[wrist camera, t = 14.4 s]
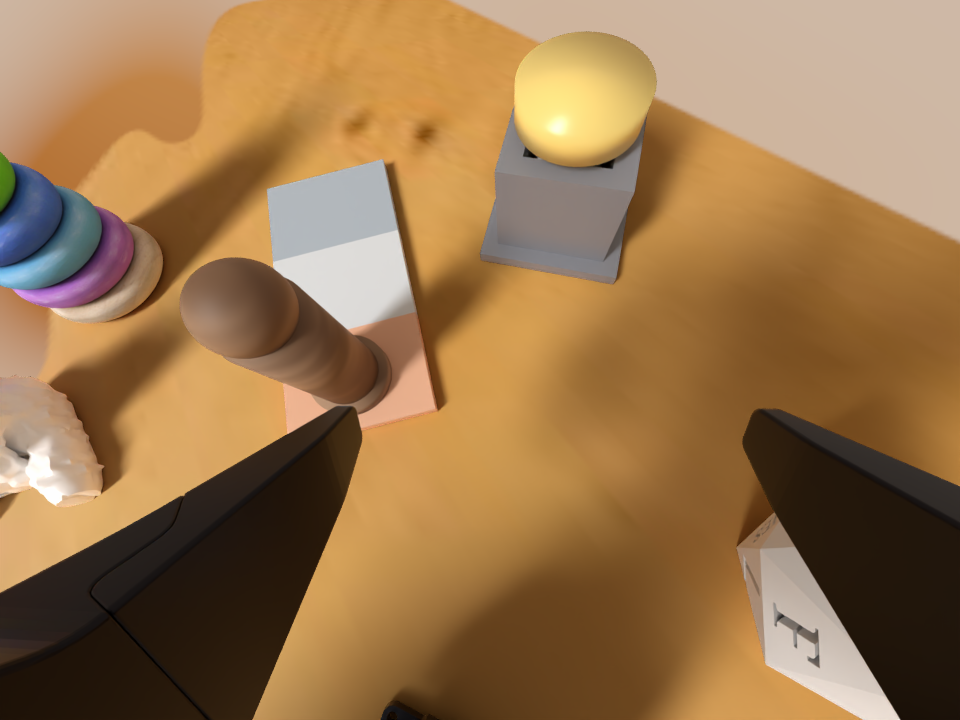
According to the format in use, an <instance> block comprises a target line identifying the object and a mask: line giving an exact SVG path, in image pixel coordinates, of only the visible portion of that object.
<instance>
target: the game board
mask: <svg viewBox="0 0 960 720" xmlns="http://www.w3.org/2000/svg"><path fill="white" fill-rule="evenodd" d="M267 194H268V206H269V218H270V230H271V242H272V254H273V266H274V269H275V270H276V271H277V272H279V273H280V274H281V275H282V276H283V277H284V278H287V279H289V280H291V281H293V282H294V283H295V284H297V285H298V286H299V287H300V288H301V289H302V290H303V291H305V292H306V293H307V294H308V295H309V296H310V297H311V298H312V299H314V300H315V301H316V302H317V303H318V304H319V305H320V306H321V307H323V308H324V309H325V310H326V311H327V312H328V313H329V314H330V315H332V316H333V317H334V318H335V319H336V320H337V321H338V322H339V323H341V324H342V325H343V326H344V327H345V328H346V329H347V330H348V331H350V332H351V333H352V334H353V335H358V336H363V337H366V338H368V339H370V340H372V341H373V342H374V343H376V344H377V345H378V346H379V347H380V348H381V349H382V350H383V351H384V352H385V353H386V355H387V357H388V358H389V361H390V364H391V368H392V380H391V384H390V387H389V390H388V392H387V394H386V395H385V397H384V398H383V399H382V401H381V402H380V403H379V404H378V405H377V406H375V407H374V408H373V409H371V410H369V411H367V412H365V413H362V414H359V415H358V418H359V422H360V426H361V431H362V430H366V429H370V428H374V427H378V426H382V425H386V424H389V423H393V422H397V421H401V420H405V419H409V418H413V417H417V416H420V415H424V414H428V413H432V412H436V411H438V409H437V404H436V399H435V395H434V390H433V385H432V381H431V376H430V371H429V366H428V362H427V357H426V352H425V348H424V343H423V338H422V333H421V329H420V324H419V319H418V315H417V310H416V305H415V300H414V296H413V291H412V286H411V282H410V277H409V272H408V267H407V263H406V258H405V253H404V249H403V244H402V239H401V235H400V230H399V225H398V220H397V216H396V211H395V206H394V202H393V197H392V192H391V187H390V183H389V178H388V173H387V169H386V166H385V163H384V161H383V159H382V160H378V161H374V162H371V163H367V164H363V165H359V166H355V167H351V168H347V169H343V170H339V171H335V172H332V173H328V174H324V175H320V176H316V177H312V178H308V179H304V180H300V181H296V182H293V183H289V184H285V185H281V186H277V187H273V188H269V189H267ZM283 386H284V398H285V410H286V422H287V434H289V433H290V432H292V431H294V430H296V429H297V428H299V427H301V426H302V425H304V424H306V423H308V422H309V421H311V420H313V419H315V418H316V417H318V416H320V415H321V414H323V413H325V412H327V411H328V410H326V409H324V408H323V407H321V406H320V405H319V404H318V403H317V402H316V401H315V400H314V398H313V397H312V395H311V394H310V393H307V392H305V391H302V390H300V389H297V388H294V387H292V386H289V385H287V384H284V383H283Z"/></svg>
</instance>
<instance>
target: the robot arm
mask: <svg viewBox="0 0 960 720" xmlns="http://www.w3.org/2000/svg"><path fill="white" fill-rule="evenodd" d="M361 443H362V431H361V426H360V422H359V418H358V414H357V411H356V409H355V407H353V406H335V407H334V408H332V409H330V410H328V411H327V412H325V413H323V414H321V415H320V416H318V417H316V418H315V419H313V420H311V421H309V422H308V423H306V424H304V425H302V426H301V427H299V428H297V429H296V430H294V431H292V432H290V433H289V434H287V435H285V436H283V437H282V438H280V439H278V440H277V441H275V442H273V443H271V444H270V445H268V446H266V447H264V448H263V449H261V450H259V451H258V452H256V453H254V454H252V455H251V456H249V457H247V458H245V459H244V460H242V461H240V462H239V463H237V464H235V465H233V466H232V467H230V468H228V469H226V470H225V471H223V472H221V473H220V474H218V475H216V476H214V477H213V478H211V479H209V480H207V481H206V482H204V483H202V484H201V485H199V486H197V487H195V488H194V489H192V490H190V491H188V492H187V493H185V495H184V496H180V497H178V498H176V499H174V500H173V501H171V502H169V503H168V504H166V505H164V506H162V507H161V508H159V509H157V510H155V511H154V512H152V513H150V514H148V515H147V516H145V517H143V518H141V519H139V520H138V521H136V522H134V523H132V524H131V525H129V526H127V527H125V528H123V529H121V530H120V531H118V532H116V533H114V534H112V535H110V536H108V537H106V538H104V539H103V540H101V541H99V542H97V543H95V544H93V545H91V546H89V547H87V548H86V549H84V550H82V551H80V552H78V553H76V554H74V555H72V556H70V557H68V558H66V559H64V560H63V561H61V562H59V563H57V564H55V565H53V566H51V567H49V568H47V569H45V570H43V571H41V572H39V573H38V574H36V575H34V576H32V577H30V578H28V579H26V580H24V581H22V582H20V583H18V584H16V585H14V586H12V587H11V588H9V589H7V590H5V591H3V592H1V593H0V720H252V719H253V717H254V714H255V712H256V710H257V707H258V705H259V703H260V700H261V698H262V695H263V693H264V691H265V688H266V686H267V684H268V681H269V679H270V676H271V674H272V672H273V669H274V667H275V665H276V662H277V660H278V657H279V655H280V653H281V650H282V648H283V646H284V643H285V641H286V638H287V636H288V634H289V631H290V629H291V627H292V624H293V622H294V619H295V617H296V615H297V612H298V610H299V608H300V605H301V603H302V600H303V598H304V596H305V593H306V591H307V589H308V586H309V584H310V581H311V579H312V577H313V574H314V572H315V570H316V567H317V565H318V562H319V560H320V558H321V555H322V553H323V551H324V548H325V546H326V543H327V541H328V539H329V536H330V534H331V532H332V529H333V527H334V525H335V522H336V520H337V517H338V515H339V513H340V510H341V508H342V505H343V503H344V500H345V497H346V494H347V491H348V487H349V484H350V481H351V477H352V474H353V471H354V467H355V464H356V460H357V457H358V454H359V450H360V447H361ZM743 448H744V451H745V453H746V455H747V457H748V459H749V461H750V463H751V465H752V467H753V469H754V472H755V474H756V476H757V478H758V480H759V482H760V484H761V486H762V488H763V490H764V492H765V495H766V497H767V499H768V501H769V503H770V505H771V507H772V509H773V511H774V513H775V514H776V516H777V518H778V520H779V521H780V523H781V525H782V526H783V528H784V530H785V531H786V533H787V535H788V536H789V538H790V539H791V541H792V543H793V544H794V546H795V548H796V549H797V551H798V553H799V554H800V556H801V558H802V559H803V561H804V563H805V564H806V566H807V567H808V569H809V571H810V572H811V574H812V576H813V577H814V579H815V581H816V582H817V584H818V586H819V587H820V589H821V590H822V592H823V594H824V595H825V597H826V599H827V600H828V602H829V604H830V605H831V607H832V609H833V610H834V612H835V614H836V615H837V617H838V618H839V620H840V622H841V623H842V625H843V627H844V628H845V630H846V632H847V633H848V635H849V637H850V638H851V640H852V641H853V643H854V645H855V646H856V648H857V650H858V651H859V653H860V655H861V656H862V658H863V660H864V661H865V663H866V665H867V666H868V668H869V669H870V671H871V673H872V674H873V676H874V678H875V679H876V681H877V683H878V684H879V686H880V688H881V689H882V691H883V692H884V694H885V696H886V697H887V699H888V701H889V702H890V704H891V706H892V707H893V709H894V711H895V712H896V714H897V716H898V717H899V719H900V720H960V486H958V485H955V484H953V483H951V482H948V481H946V480H944V479H941V478H939V477H937V476H934V475H932V474H930V473H927V472H925V471H923V470H920V469H918V468H916V467H913V466H911V465H909V464H906V463H904V462H901V461H899V460H897V459H894V458H892V457H890V456H887V455H885V454H883V453H880V452H878V451H876V450H873V449H871V448H869V447H866V446H864V445H862V444H859V443H857V442H855V441H852V440H850V439H848V438H845V437H843V436H841V435H838V434H836V433H834V432H831V431H829V430H827V429H824V428H822V427H820V426H817V425H815V424H813V423H810V422H808V421H806V420H803V419H801V418H798V417H796V416H794V415H791V414H789V413H787V412H784V411H782V410H779V409H757V410H755V411H754V412H753V413H752V415H751V418H750V420H749V423H748V426H747V428H746V431H745V433H744V436H743ZM390 712H395V713H396V715H397V719H392V718H391V717H390V714H389V713H390ZM380 720H439V719H437V718H436V717H434V716H432V715H430V714H428V715H423V714H421V713H419V712H417V711H415V710H414V709H412V708H410V707H408V706H406V705H404V704H402V703H401V702H399V701H391V702H390V703H388V704H387V706H386V708H385V710H384V712H383V714H382V717H381V719H380Z"/></svg>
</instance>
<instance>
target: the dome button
mask: <svg viewBox="0 0 960 720" xmlns="http://www.w3.org/2000/svg"><path fill="white" fill-rule="evenodd" d="M656 83H657V81H656V73H655V70H654V67H653V65H652V63H651V61H650V60H649V58H648V57H647V56H646V55H645V54H644V53H643V52H642V51H641V50H640V49H639V48H638V47H636V46H635V45H634V44H632V43H630V42H629V41H627V40H624V39H622V38H619V37H617V36H614V35H610V34H606V33H600V32H575V33H568V34H564V35H560V36H557V37H554V38H552V39H549V40H547V41H545V42H543V43H541V44H540V45H538V46H537V47H535V48H534V49H533V50H532V51H531V52H529V53H528V54H527V55H526V57H525V58H524V59H523V60H522V62H521V64H520V65H519V67H518V70H517V73H516V77H515V101H514V124H515V129H516V132H517V135H518V137H519V139H520V140H521V142H522V143H523V144H524V146H525V147H526V148H527V149H528V150H529V151H531V152H532V153H533V154H535V155H536V159H543V160H545V161H548V162H550V163H554V164H557V165H561V166H567V167H587V166H593V167H601V166H602V163H605V162H608V161H610V160H612V159H614V158H616V157H618V156H619V155H621V154H623V153H624V152H625V151H626V150H627V149H629V148H630V146H631V145H632V144H633V143H634V142H635V140H636V139H637V137H638V135H639V133H640V131H641V128H642V125H643V123H644V120H645V118H646V115H647V113H648V110H649V108H650V105H651V102H652V100H653V97H654V95H655V91H656Z"/></svg>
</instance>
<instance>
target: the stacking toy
mask: <svg viewBox="0 0 960 720" xmlns="http://www.w3.org/2000/svg"><path fill="white" fill-rule="evenodd" d="M162 268H163V256H162V252H161V249H160V247H159V245H158V243H157V242H156V240H155V239H154V238H153V237H152V236H151V235H150V234H149V233H148V232H146V231H145V230H143V229H142V228H140V227H138V226H135V225H133V224H129V223H125V222H123V221H122V220H121V219H120V218H119V217H118V216H116V215H115V214H113V213H111V212H110V211H108V210H106V209H103V208H100V207H97V206H93V204H92V203H91V202H90V201H88V200H87V199H86V198H85V197H84V196H82V195H81V194H79V193H77V192H75V191H73V190H71V189H68V188H65V187H61V186H55V185H53V184H52V183H51V182H50V181H49V180H48V179H47V178H46V177H44V176H43V175H42V174H40V173H39V172H37V171H35V170H33V169H31V168H29V167H26V166H23V165H19V164H16V163H10V162H9V161H8V159H7V158H6V157H5V156H4V155H3V154H2V153H1V152H0V286H4V287H7V288H12V289H13V290H14V291H15V292H16V293H17V294H18V295H19V296H20V297H22V298H23V299H25V300H27V301H29V302H31V303H34V304H37V305H40V306H44V307H49V308H50V309H51V310H53V311H54V312H55V313H57V314H58V315H59V316H61V317H63V318H65V319H68V320H71V321H74V322H79V323H101V322H107V321H110V320H113V319H116V318H119V317H121V316H123V315H125V314H127V313H129V312H131V311H132V310H134V309H135V308H136V307H138V306H139V305H140V304H141V303H142V302H144V301H145V300H146V299H147V297H148V296H149V295H150V294H151V293H152V291H153V290H154V288H155V287H156V285H157V283H158V281H159V279H160V276H161V273H162Z"/></svg>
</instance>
